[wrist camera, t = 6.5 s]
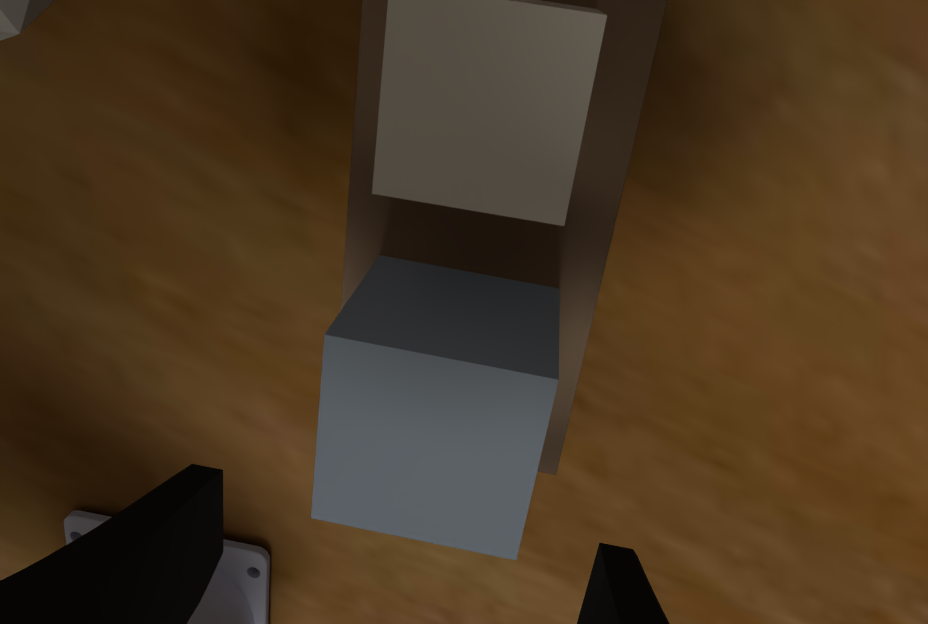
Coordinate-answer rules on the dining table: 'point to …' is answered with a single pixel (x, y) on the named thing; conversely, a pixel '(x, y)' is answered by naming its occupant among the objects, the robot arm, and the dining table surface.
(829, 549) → the dining table surface
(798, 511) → the dining table surface
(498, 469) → the grey cube
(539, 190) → the grey block
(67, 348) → the dining table surface
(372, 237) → the base slab
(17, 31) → the die
